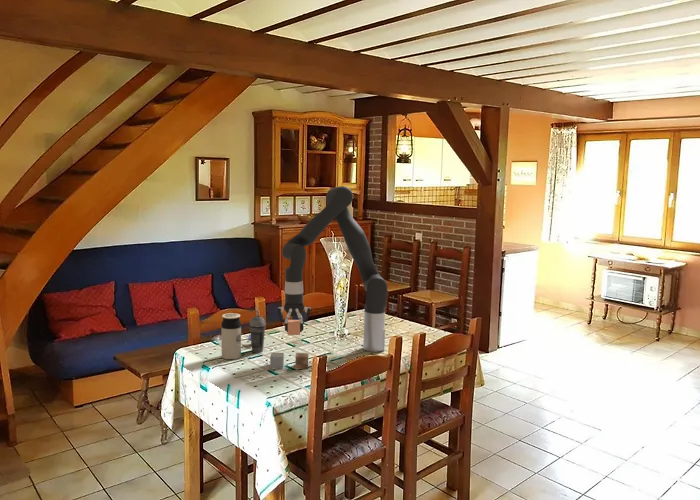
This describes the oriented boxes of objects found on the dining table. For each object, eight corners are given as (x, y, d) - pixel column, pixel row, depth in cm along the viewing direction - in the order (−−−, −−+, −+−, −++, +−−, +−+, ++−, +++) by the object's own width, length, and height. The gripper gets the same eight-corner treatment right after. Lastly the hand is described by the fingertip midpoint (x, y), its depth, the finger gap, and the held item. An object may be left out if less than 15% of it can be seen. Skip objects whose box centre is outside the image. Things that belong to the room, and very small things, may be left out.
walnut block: (308, 364, 235) (308, 353, 234) (307, 369, 230) (308, 357, 229) (295, 364, 234) (296, 353, 234) (295, 369, 229) (295, 357, 229)
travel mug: (217, 357, 240) (217, 315, 238) (231, 352, 247) (231, 311, 244) (231, 361, 236) (231, 318, 233) (244, 356, 242) (244, 314, 240)
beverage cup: (252, 354, 245) (252, 309, 242) (246, 349, 251) (246, 305, 248) (268, 352, 248) (268, 307, 245) (262, 347, 255) (262, 303, 252)
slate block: (283, 364, 234) (283, 352, 233) (282, 369, 229) (282, 356, 228) (271, 364, 234) (271, 352, 233) (270, 368, 229) (270, 356, 228)
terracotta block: (300, 331, 241) (300, 319, 241) (299, 334, 236) (299, 323, 236) (288, 331, 241) (288, 319, 240) (287, 334, 236) (287, 323, 236)
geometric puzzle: (260, 344, 253) (262, 326, 257) (245, 343, 253) (247, 326, 257) (263, 349, 259) (265, 332, 263) (248, 348, 260) (250, 332, 263)
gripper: (311, 289, 240) (311, 329, 243) (277, 289, 240) (277, 329, 242) (311, 293, 233) (311, 334, 235) (275, 293, 232) (276, 334, 235)
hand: (294, 331), depth 239 cm, fingers closed on terracotta block, 5 cm apart
